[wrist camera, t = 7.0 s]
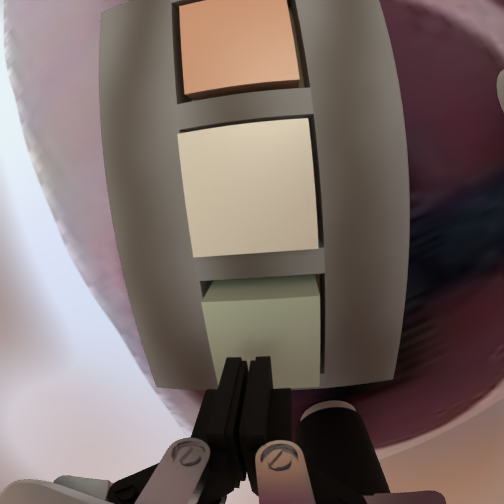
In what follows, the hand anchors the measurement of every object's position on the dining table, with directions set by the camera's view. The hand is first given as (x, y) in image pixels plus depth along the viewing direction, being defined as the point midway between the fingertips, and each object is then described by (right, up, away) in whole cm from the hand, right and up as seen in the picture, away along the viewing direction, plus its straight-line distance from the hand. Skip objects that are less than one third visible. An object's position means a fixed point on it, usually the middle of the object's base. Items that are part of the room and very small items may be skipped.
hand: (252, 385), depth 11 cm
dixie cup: (+6, -9, +11) cm, 15 cm away
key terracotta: (0, +15, +2) cm, 16 cm away
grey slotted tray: (0, +9, +6) cm, 11 cm away
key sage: (+1, +2, +4) cm, 5 cm away
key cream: (0, +8, +3) cm, 9 cm away
